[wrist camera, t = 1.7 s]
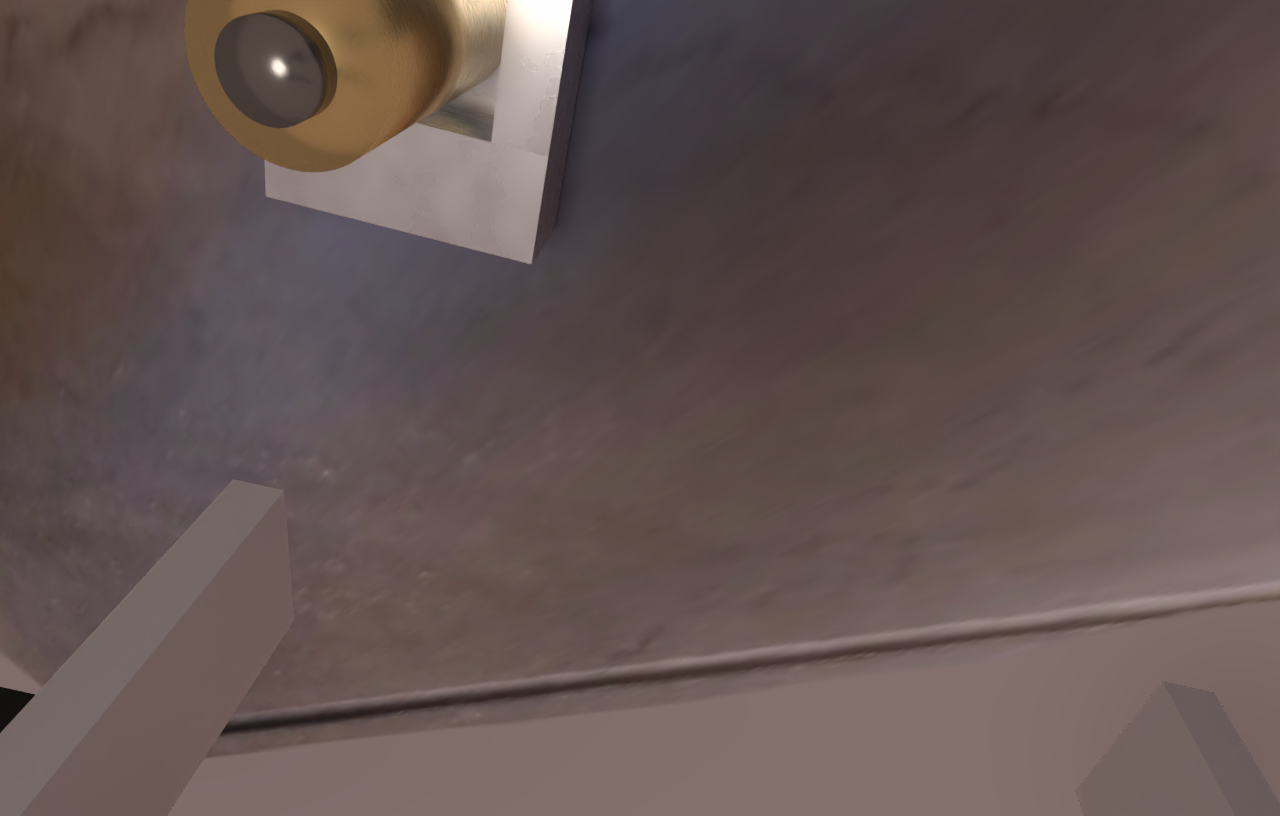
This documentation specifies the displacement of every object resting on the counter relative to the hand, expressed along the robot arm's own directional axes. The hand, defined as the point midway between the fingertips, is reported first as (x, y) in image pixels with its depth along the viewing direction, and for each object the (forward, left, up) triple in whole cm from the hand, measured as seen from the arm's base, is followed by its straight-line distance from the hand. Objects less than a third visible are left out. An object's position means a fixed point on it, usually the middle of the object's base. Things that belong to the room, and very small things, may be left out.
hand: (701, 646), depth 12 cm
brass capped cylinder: (-4, -12, -22) cm, 25 cm away
